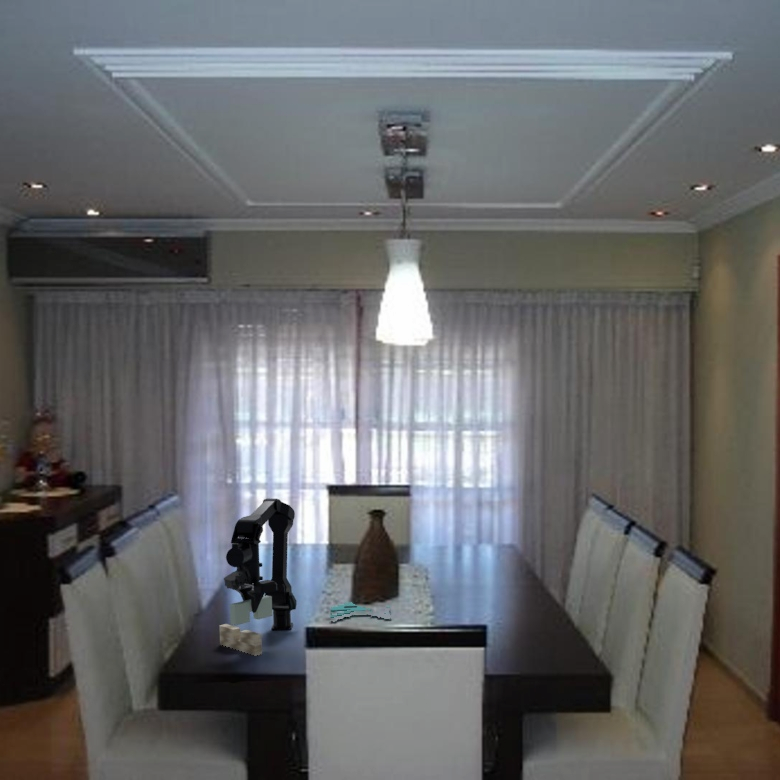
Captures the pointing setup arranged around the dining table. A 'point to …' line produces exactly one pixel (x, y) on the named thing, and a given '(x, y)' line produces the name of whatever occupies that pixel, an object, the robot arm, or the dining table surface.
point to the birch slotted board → (240, 639)
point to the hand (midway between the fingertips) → (251, 611)
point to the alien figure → (348, 607)
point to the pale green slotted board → (243, 609)
